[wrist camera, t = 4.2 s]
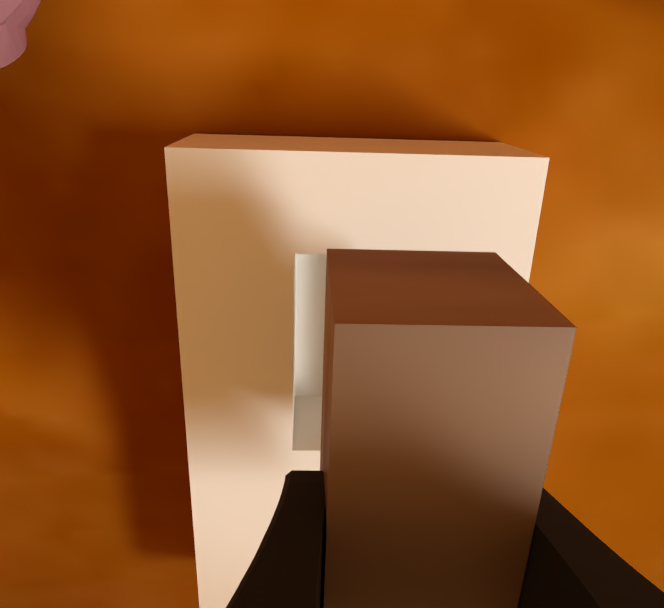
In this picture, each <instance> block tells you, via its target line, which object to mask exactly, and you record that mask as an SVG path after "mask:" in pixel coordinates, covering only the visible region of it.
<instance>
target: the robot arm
mask: <svg viewBox="0 0 664 608" xmlns="http://www.w3.org/2000/svg"><path fill="white" fill-rule="evenodd" d="M324 522H325V486H324V473H323V471H311V470H292V471H290V472H289V473H288V474H287V475H286V476H285V481H284V486H283V489H282V493H281V496H280V499H279V502H278V505H277V507H276V510H275V512H274V515H273V517H272V520H271V522H270V525H269V527H268V529H267V531H266V533H265V535H264V537H263V540H262V542H261V544H260V546H259V548H258V550H257V552H256V554H255V556H254V558H253V560H252V562H251V564H250V566H249V568H248V569H247V571H246V573H245V575H244V577H243V578H242V580H241V582H240V584H239V586H238V587H237V589H236V591H235V593H234V595H233V596H232V598H231V600H230V602H229V603H228V605H227V606H226V608H321V603H322V576H323V549H324ZM517 608H664V592H662V591H661V590H660V589H659V588H657V587H656V586H655V585H654V584H652V583H651V582H650V581H649V580H647V579H646V578H645V577H644V576H642V575H641V574H640V573H639V572H637V571H636V570H635V569H634V568H633V567H631V566H630V565H629V564H628V563H627V562H625V561H624V560H623V559H622V558H621V557H619V556H618V555H617V554H616V553H615V552H614V551H613V550H611V549H610V548H609V547H608V546H607V545H606V544H604V543H603V542H602V541H601V540H600V539H599V538H598V537H597V536H595V535H594V534H593V533H592V532H591V531H590V530H589V529H588V528H586V527H585V526H584V525H583V524H582V523H581V522H580V521H579V520H578V519H577V518H575V517H574V516H573V515H572V514H571V513H570V512H569V511H568V510H567V509H566V508H565V507H563V506H562V505H561V504H560V503H559V502H558V501H557V500H556V499H555V498H554V497H553V496H552V495H550V494H549V493H548V492H547V491H546V490H545V489H544V488H543V489H542V493H541V498H540V503H539V508H538V512H537V517H536V522H535V527H534V531H533V536H532V541H531V545H530V550H529V555H528V560H527V564H526V569H525V574H524V578H523V583H522V588H521V593H520V597H519V602H518V607H517Z"/></svg>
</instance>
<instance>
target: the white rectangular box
mask: <svg viewBox="0 0 664 608" xmlns="http://www.w3.org/2000/svg"><path fill="white" fill-rule="evenodd" d="M164 153H165V166H166V179H167V192H168V205H169V218H170V231H171V244H172V257H173V270H174V283H175V296H176V309H177V322H178V335H179V348H180V361H181V374H182V387H183V400H184V413H185V426H186V439H187V452H188V465H189V478H190V491H191V504H192V517H193V530H194V543H195V556H196V569H197V582H198V595H199V608H226V606H227V605H228V603H229V602H230V600H231V598H232V596H233V595H234V593H235V591H236V589H237V587H238V586H239V584H240V582H241V580H242V578H243V577H244V575H245V573H246V571H247V569H248V568H249V566H250V564H251V562H252V560H253V558H254V556H255V554H256V552H257V550H258V548H259V546H260V544H261V542H262V540H263V537H264V535H265V533H266V531H267V529H268V527H269V525H270V522H271V520H272V517H273V515H274V512H275V510H276V507H277V505H278V502H279V499H280V496H281V493H282V489H283V486H284V481H285V476H286V475H287V474H288V473H289V472H290V471H292V470H311V471H320V450H321V418H322V386H323V354H324V322H325V290H326V258H327V249H371V250H416V251H461V252H496V253H497V254H498V255H499V256H500V257H501V258H502V259H503V260H504V261H505V262H506V263H507V264H509V265H510V266H511V267H512V268H513V269H514V270H515V271H516V272H517V273H518V274H519V275H520V276H522V277H523V278H524V279H525V280H526V281H527V282H528V283H529V277H530V271H531V265H532V259H533V253H534V247H535V241H536V235H537V229H538V223H539V217H540V211H541V206H542V200H543V194H544V188H545V182H546V176H547V170H548V164H549V157H546V156H543V155H540V154H536V153H533V152H530V151H527V150H524V149H521V148H518V147H515V146H512V145H509V144H506V143H502V142H477V141H442V140H406V139H371V138H335V137H300V136H264V135H229V134H192V135H190V136H188V137H185V138H183V139H181V140H179V141H177V142H175V143H172V144H170V145H168V146H166V147H164Z"/></svg>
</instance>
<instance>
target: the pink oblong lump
mask: <svg viewBox="0 0 664 608" xmlns="http://www.w3.org/2000/svg"><path fill="white" fill-rule="evenodd" d="M40 2H41V0H0V68H2V67H5V66H7V65H9V64H10V63H12V62H14V61H15V60H16V59H17V58H19V57H20V56H21V55H22V54H23V52H24V51H25V49H26V46H27V42H26V29H25V28H26V27H27V26H28V24H29V23H30V21H31V20H32V18H33V16H34V14H35V12H36V10H37V8H38V6H39V4H40Z"/></svg>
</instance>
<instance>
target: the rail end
mask: <svg viewBox="0 0 664 608" xmlns="http://www.w3.org/2000/svg"><path fill="white" fill-rule="evenodd" d="M576 328H577V327H576V326H574V325H573V324H572V323H571V322H570V321H569V320H568V319H567V318H566V317H565V316H564V315H563V314H561V313H560V312H559V311H558V310H557V309H556V308H555V307H554V306H553V305H552V304H551V303H550V302H549V301H547V300H546V299H545V298H544V297H543V296H542V295H541V294H540V293H539V292H538V291H537V290H536V289H534V288H533V287H532V286H531V285H530V284H529V283H528V282H527V281H526V280H525V279H524V278H523V277H522V276H520V275H519V274H518V273H517V272H516V271H515V270H514V269H513V268H512V267H511V266H510V265H509V264H507V263H506V262H505V261H504V260H503V259H502V258H501V257H500V256H499V255H498V254H497V253H496V252H461V251H416V250H371V249H327V258H326V290H325V322H324V354H323V386H322V418H321V450H320V471H323V473H324V486H325V522H324V549H323V576H322V603H321V608H517V607H518V602H519V597H520V593H521V588H522V583H523V578H524V574H525V569H526V564H527V560H528V555H529V550H530V545H531V541H532V536H533V531H534V527H535V522H536V517H537V512H538V508H539V503H540V498H541V493H542V489H543V484H544V479H545V475H546V470H547V465H548V460H549V456H550V451H551V446H552V442H553V437H554V432H555V427H556V423H557V418H558V413H559V409H560V404H561V399H562V394H563V390H564V385H565V380H566V375H567V371H568V366H569V361H570V357H571V352H572V347H573V342H574V338H575V333H576Z"/></svg>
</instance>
